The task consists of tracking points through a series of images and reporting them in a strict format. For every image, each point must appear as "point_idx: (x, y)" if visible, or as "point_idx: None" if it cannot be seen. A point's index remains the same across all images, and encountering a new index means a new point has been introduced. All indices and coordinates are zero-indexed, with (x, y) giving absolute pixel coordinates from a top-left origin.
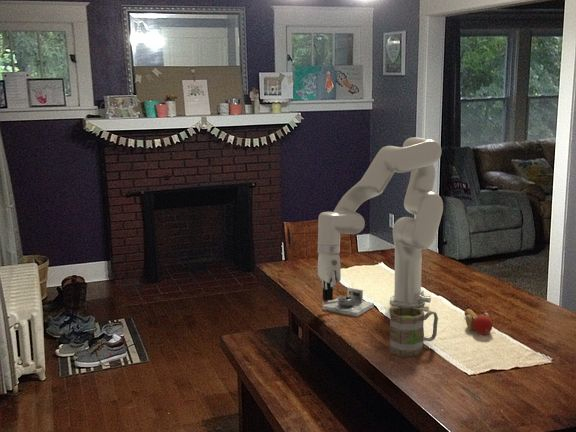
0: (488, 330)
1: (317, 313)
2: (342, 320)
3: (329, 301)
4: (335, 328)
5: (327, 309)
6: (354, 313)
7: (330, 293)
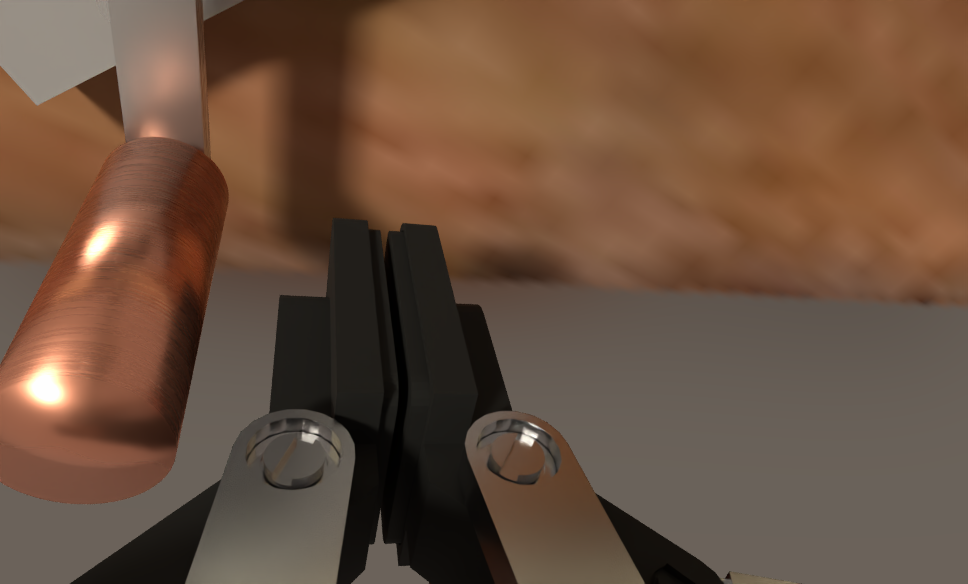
0: None
1: None
2: (653, 63)
3: (170, 96)
4: (768, 259)
5: None
6: None
7: (490, 384)
